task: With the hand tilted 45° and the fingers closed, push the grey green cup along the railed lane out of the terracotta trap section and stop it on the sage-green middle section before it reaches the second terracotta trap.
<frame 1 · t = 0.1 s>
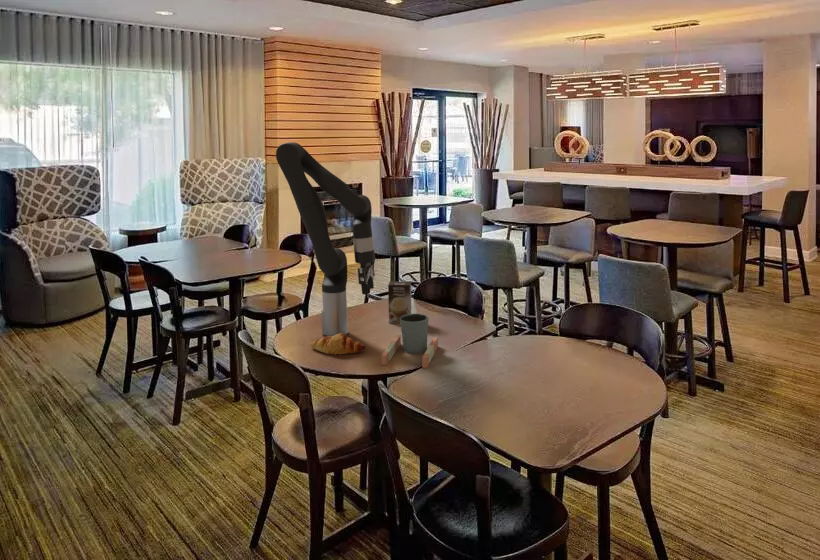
hand: (368, 291, 254), 17 cm above the table, tool pointing down, fingers open, 8 cm apart
coffee box: (400, 321, 276), on the table
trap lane: (409, 357, 233), on the table
croissant: (338, 351, 242), on the table
grey green cup: (414, 350, 241), on the table
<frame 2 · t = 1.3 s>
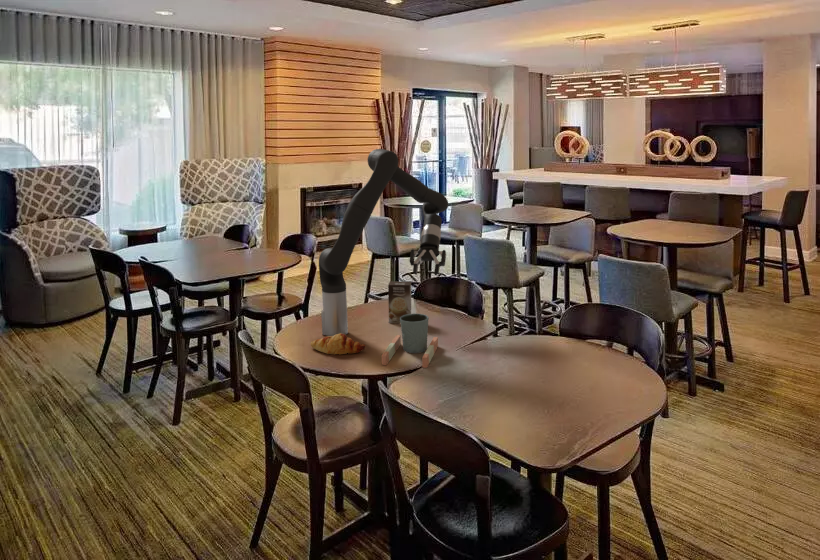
hand: (425, 273, 257), 23 cm above the table, tool tilted 45°, fingers open, 7 cm apart
nothing on the table moved.
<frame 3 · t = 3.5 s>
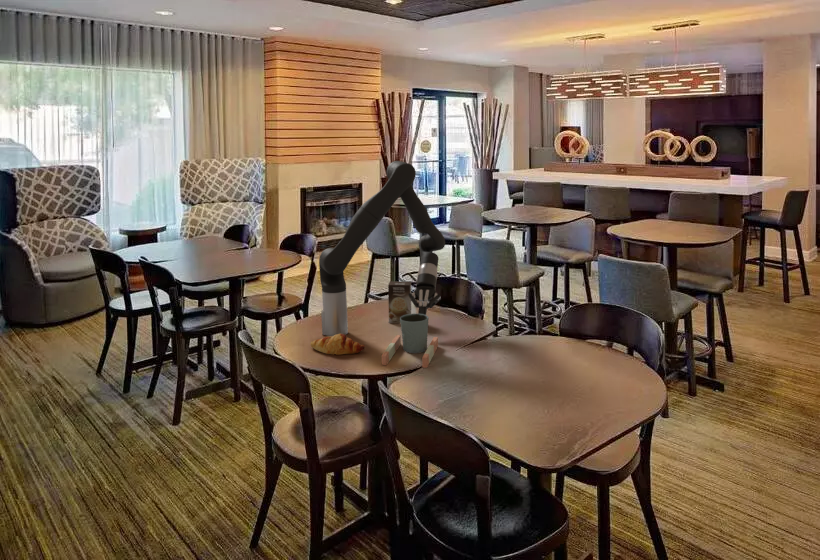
hand: (421, 316, 252), 8 cm above the table, tool tilted 45°, fingers closed
nothing on the table moved.
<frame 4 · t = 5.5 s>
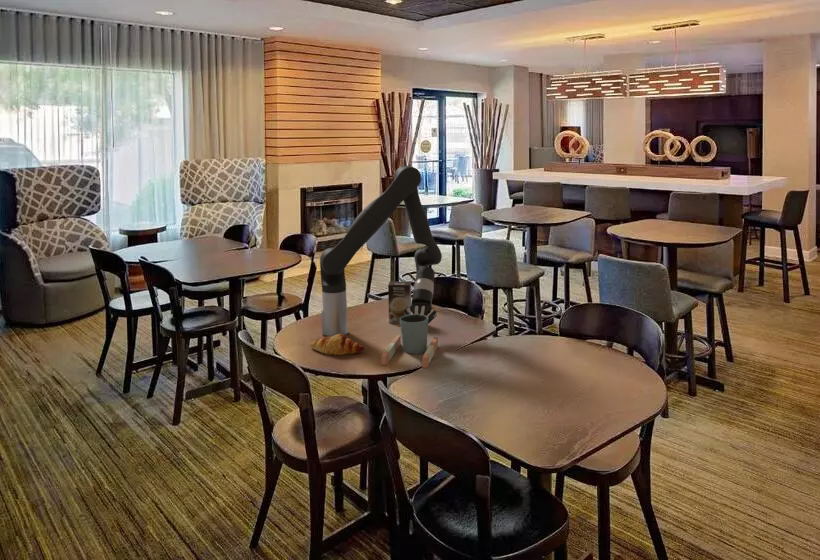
hand: (417, 334, 245), 4 cm above the table, tool tilted 45°, fingers closed
grey green cup: (414, 350, 241), on the table, touching gripper
everything else where it was.
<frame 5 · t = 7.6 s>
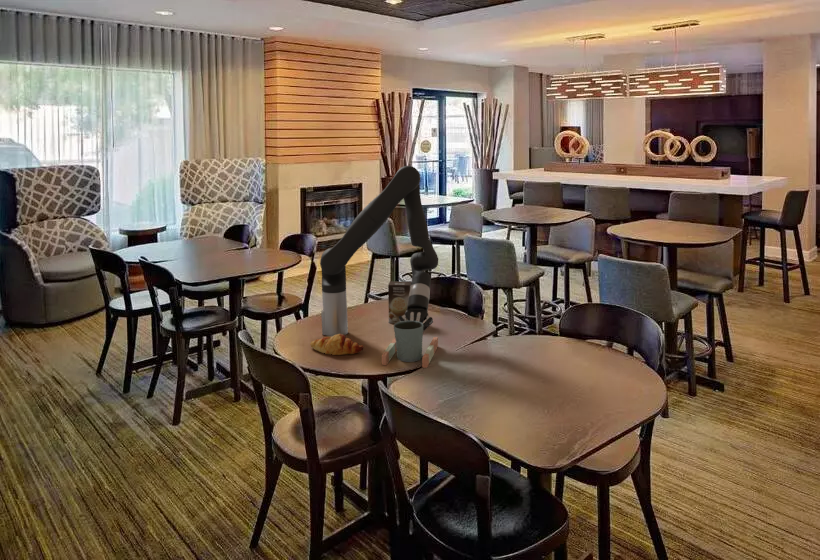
hand: (412, 341, 237), 4 cm above the table, tool tilted 45°, fingers closed
grey green cup: (409, 358, 233), on the table, touching gripper
everything else where it was.
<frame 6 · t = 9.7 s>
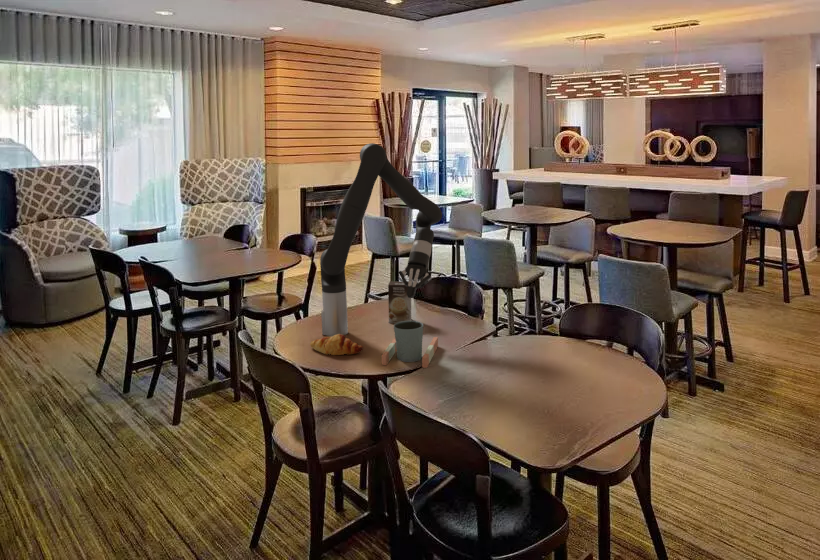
hand: (410, 297, 247), 17 cm above the table, tool tilted 35°, fingers closed
grey green cup: (409, 358, 233), on the table
everything else where it was.
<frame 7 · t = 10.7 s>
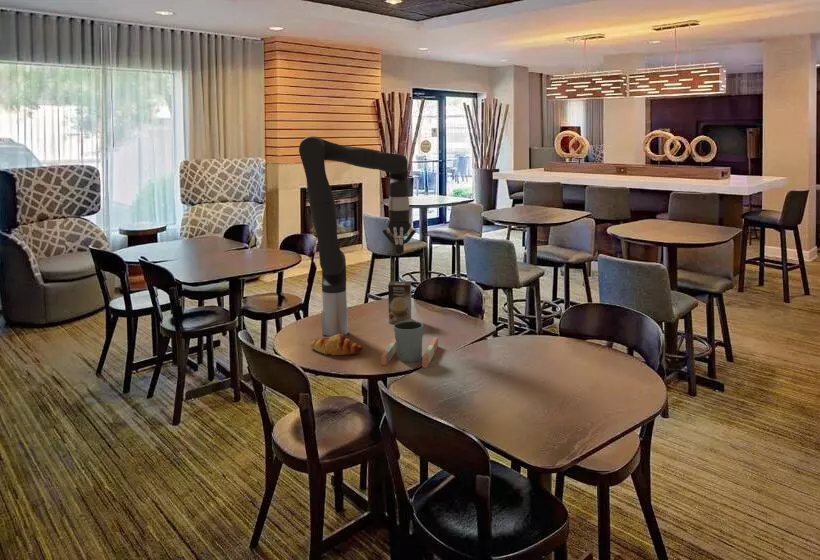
hand: (399, 254, 254), 31 cm above the table, tool pointing down, fingers closed
nothing on the table moved.
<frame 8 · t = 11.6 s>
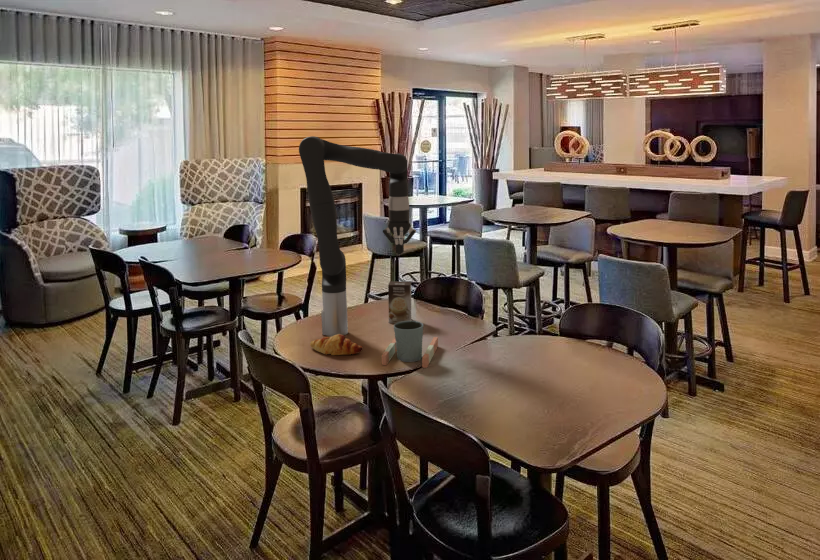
hand: (399, 254, 254), 31 cm above the table, tool pointing down, fingers closed
nothing on the table moved.
at the end: grey green cup 0.1 cm from the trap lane (horizontally); grey green cup tilted 0°; grey green cup moved 9.1 cm from its start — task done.
